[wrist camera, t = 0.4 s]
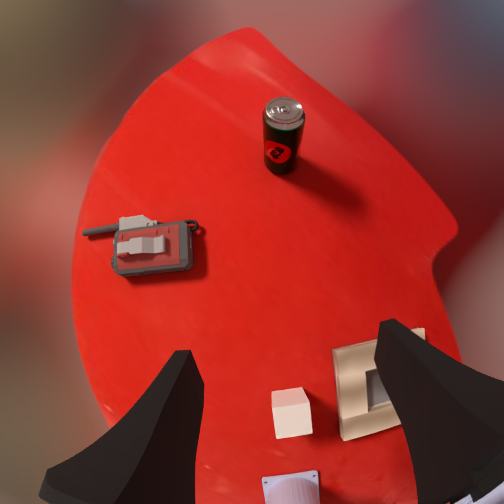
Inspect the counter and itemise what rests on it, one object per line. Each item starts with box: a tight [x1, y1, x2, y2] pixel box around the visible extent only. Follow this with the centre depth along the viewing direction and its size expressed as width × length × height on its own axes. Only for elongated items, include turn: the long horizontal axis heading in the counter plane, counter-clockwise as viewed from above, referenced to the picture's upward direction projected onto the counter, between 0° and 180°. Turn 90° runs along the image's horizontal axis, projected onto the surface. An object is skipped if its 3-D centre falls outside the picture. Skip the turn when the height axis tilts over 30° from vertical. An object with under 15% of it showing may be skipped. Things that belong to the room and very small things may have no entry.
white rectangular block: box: [272, 387, 312, 439], centre depth 29 cm, size 4×4×7 cm
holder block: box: [332, 328, 425, 441], centre depth 30 cm, size 13×13×2 cm
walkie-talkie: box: [82, 215, 199, 277], centre depth 36 cm, size 9×4×20 cm
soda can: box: [262, 97, 305, 174], centre depth 34 cm, size 5×5×12 cm
